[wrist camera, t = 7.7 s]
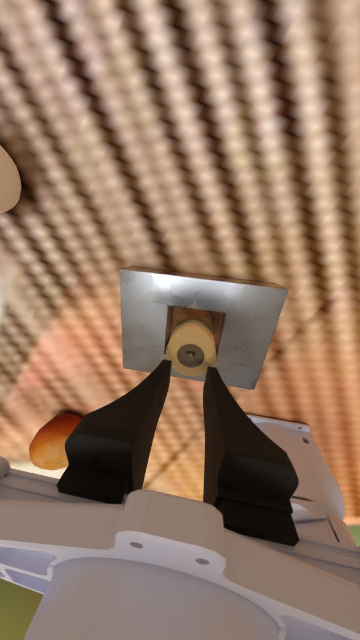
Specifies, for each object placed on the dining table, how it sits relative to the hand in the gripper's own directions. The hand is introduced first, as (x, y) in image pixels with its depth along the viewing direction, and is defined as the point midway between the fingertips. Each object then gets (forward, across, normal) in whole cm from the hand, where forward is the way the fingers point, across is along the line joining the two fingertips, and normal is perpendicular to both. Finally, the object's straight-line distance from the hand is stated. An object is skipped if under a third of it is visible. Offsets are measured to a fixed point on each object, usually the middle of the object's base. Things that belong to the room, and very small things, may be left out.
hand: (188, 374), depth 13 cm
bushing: (+9, 0, 0) cm, 9 cm away
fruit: (+10, +19, +23) cm, 31 cm away
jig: (+9, 0, 0) cm, 9 cm away
